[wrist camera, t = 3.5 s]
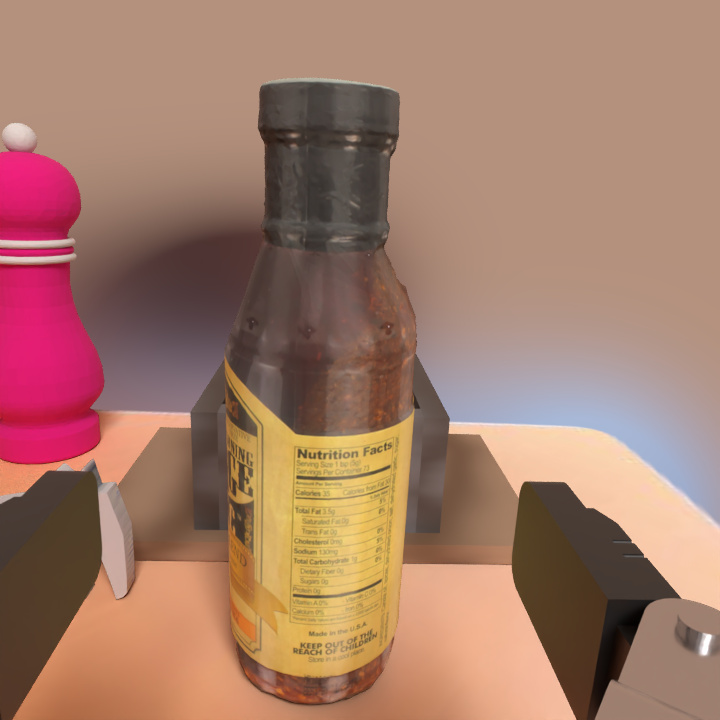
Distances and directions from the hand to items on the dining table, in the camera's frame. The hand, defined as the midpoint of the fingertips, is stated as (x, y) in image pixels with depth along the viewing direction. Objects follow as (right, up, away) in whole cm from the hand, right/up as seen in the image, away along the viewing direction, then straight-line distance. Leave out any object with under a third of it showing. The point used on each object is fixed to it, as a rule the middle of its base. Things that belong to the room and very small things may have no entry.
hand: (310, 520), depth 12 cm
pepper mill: (-20, -3, +29) cm, 35 cm away
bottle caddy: (-1, -5, +24) cm, 25 cm away
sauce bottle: (-1, -8, +12) cm, 14 cm away
